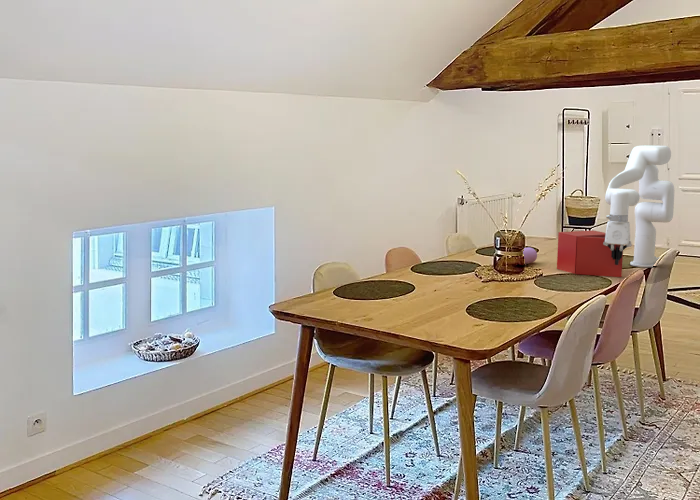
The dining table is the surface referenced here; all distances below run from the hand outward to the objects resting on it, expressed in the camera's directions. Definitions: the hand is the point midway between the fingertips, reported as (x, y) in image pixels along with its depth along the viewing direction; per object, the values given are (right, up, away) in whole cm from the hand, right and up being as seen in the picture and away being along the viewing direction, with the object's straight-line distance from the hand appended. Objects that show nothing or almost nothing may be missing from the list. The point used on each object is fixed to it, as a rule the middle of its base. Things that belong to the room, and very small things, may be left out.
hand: (616, 259), depth 318 cm
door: (-6, -8, +7) cm, 12 cm away
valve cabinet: (-7, -6, +24) cm, 26 cm away
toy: (-32, -3, +39) cm, 50 cm away
